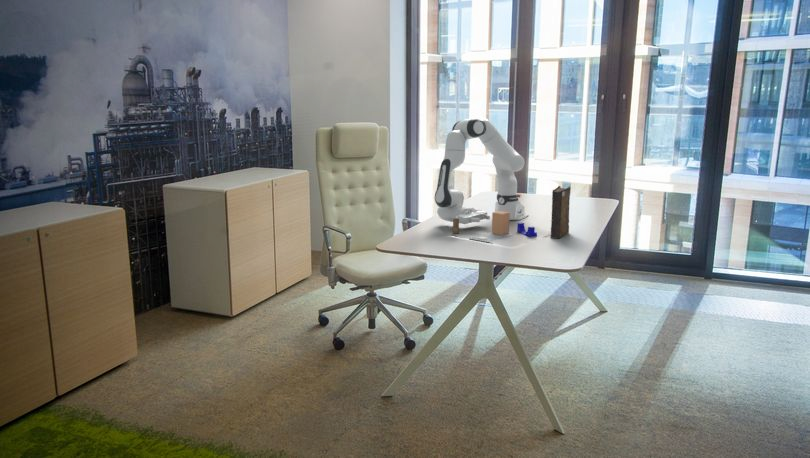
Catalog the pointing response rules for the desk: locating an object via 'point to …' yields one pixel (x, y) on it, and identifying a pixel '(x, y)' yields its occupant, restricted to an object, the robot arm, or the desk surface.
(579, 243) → the desk surface
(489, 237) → the board
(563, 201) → the book
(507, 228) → the block
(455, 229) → the pin
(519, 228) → the cable clip
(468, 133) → the robot arm
